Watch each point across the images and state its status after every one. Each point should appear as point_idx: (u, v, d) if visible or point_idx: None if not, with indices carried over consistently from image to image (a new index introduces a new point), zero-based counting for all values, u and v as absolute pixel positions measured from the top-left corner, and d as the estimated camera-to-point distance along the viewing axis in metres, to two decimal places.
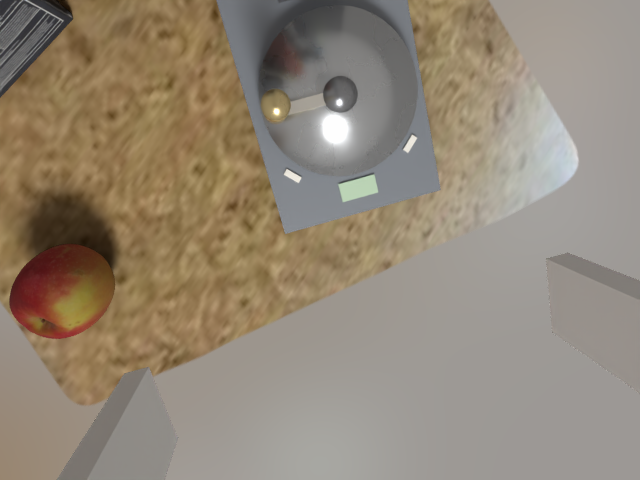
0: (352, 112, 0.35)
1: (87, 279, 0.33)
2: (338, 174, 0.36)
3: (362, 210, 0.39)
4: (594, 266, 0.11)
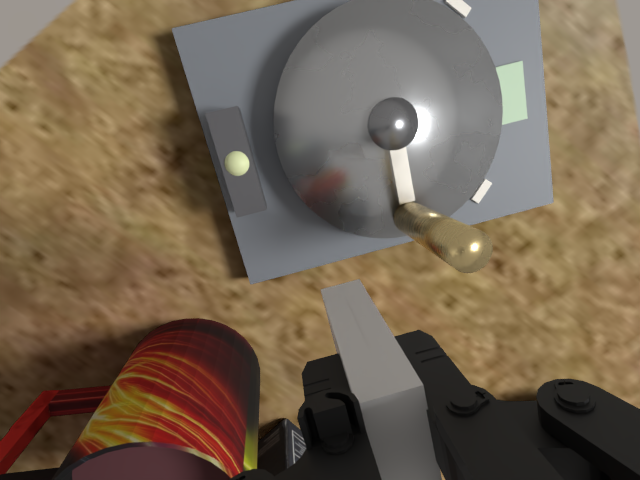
0: (416, 104, 0.23)
1: None
2: (498, 127, 0.24)
3: (542, 86, 0.26)
4: (362, 293, 0.13)
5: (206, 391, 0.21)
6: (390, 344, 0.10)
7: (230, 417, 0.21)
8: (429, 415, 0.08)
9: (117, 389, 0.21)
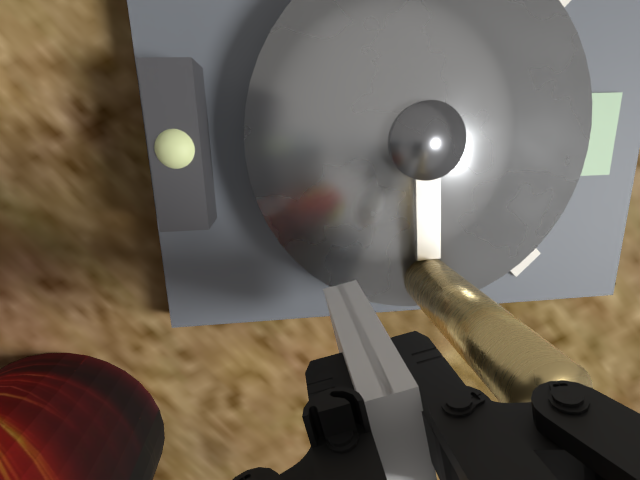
0: (466, 117, 0.15)
1: None
2: (578, 170, 0.16)
3: (638, 135, 0.18)
4: (359, 294, 0.13)
5: None
6: (386, 345, 0.10)
7: None
8: (424, 417, 0.08)
9: None
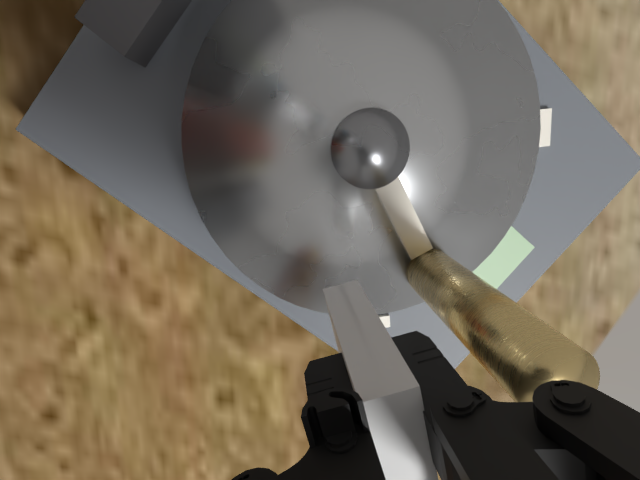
0: (398, 109, 0.15)
1: None
2: (535, 105, 0.15)
3: (523, 291, 0.19)
4: (360, 294, 0.13)
5: None
6: (387, 345, 0.10)
7: None
8: (425, 416, 0.08)
9: None
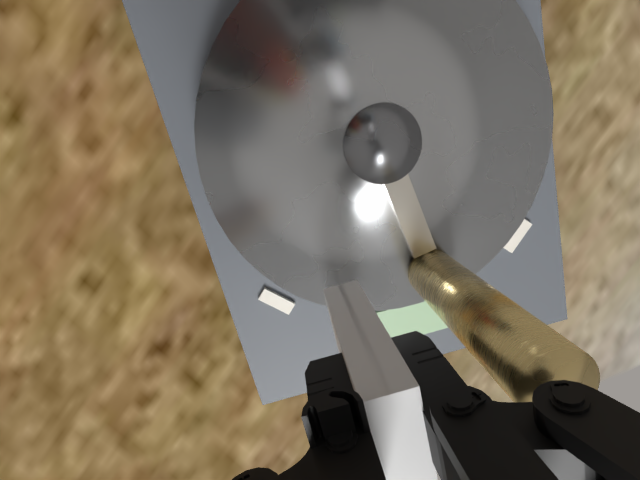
0: (414, 107, 0.15)
1: None
2: (549, 114, 0.16)
3: None
4: (359, 294, 0.13)
5: None
6: (387, 345, 0.10)
7: None
8: (425, 416, 0.08)
9: None
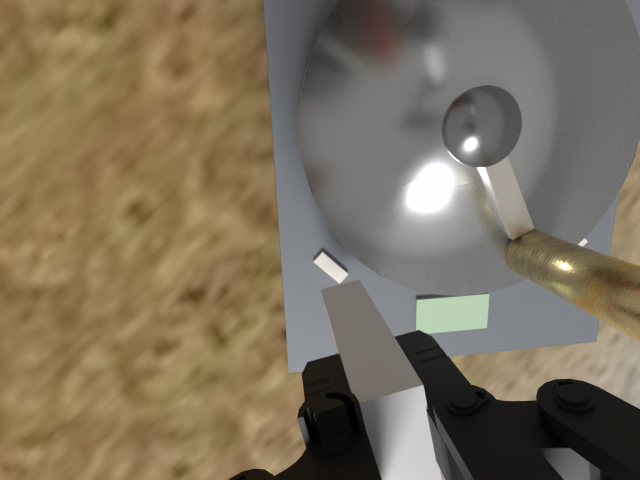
0: (511, 88, 0.15)
1: None
2: None
3: (447, 354, 0.20)
4: (362, 293, 0.13)
5: None
6: (390, 344, 0.10)
7: None
8: (429, 415, 0.08)
9: None
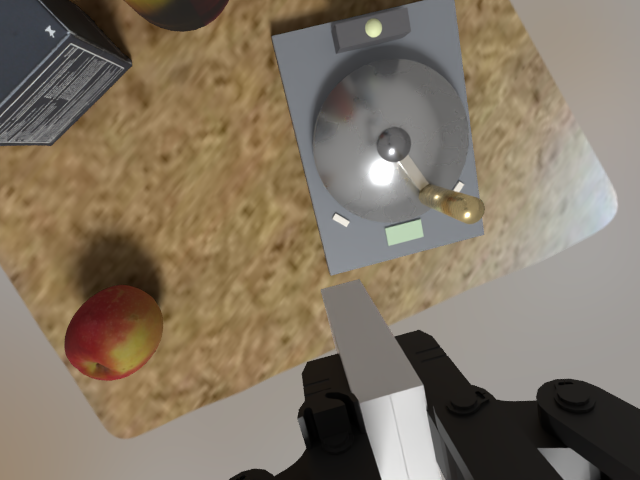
0: (403, 125, 0.34)
1: (141, 324, 0.33)
2: (463, 112, 0.35)
3: (407, 253, 0.39)
4: (362, 293, 0.13)
5: None
6: (390, 344, 0.10)
7: None
8: (429, 415, 0.08)
9: None
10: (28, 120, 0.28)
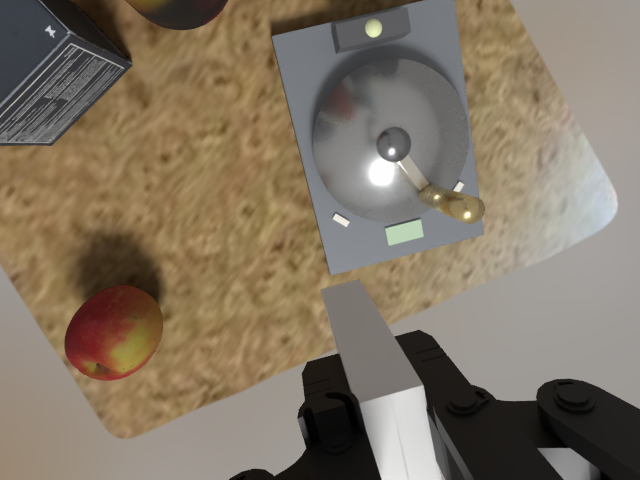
0: (403, 125, 0.34)
1: (141, 324, 0.33)
2: (463, 112, 0.35)
3: (407, 253, 0.39)
4: (362, 293, 0.13)
5: None
6: (390, 344, 0.10)
7: None
8: (429, 415, 0.08)
9: None
10: (28, 120, 0.28)
